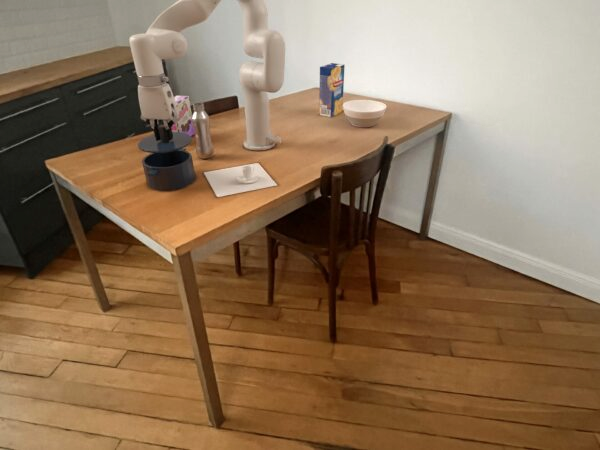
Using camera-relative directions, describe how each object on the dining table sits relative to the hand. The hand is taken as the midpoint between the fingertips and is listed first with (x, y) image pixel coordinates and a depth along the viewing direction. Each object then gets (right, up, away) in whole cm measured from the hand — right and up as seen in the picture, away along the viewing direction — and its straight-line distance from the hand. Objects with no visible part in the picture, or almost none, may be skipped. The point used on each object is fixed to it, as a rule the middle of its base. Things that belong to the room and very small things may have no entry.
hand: (164, 139), depth 129 cm
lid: (0, -1, +1) cm, 1 cm away
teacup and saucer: (+23, -12, +8) cm, 27 cm away
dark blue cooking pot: (0, -12, +7) cm, 14 cm away
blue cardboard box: (+58, +27, +69) cm, 95 cm away
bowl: (+72, +19, +55) cm, 93 cm away
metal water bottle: (+8, -2, +24) cm, 25 cm away
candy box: (-6, +9, +41) cm, 42 cm away
